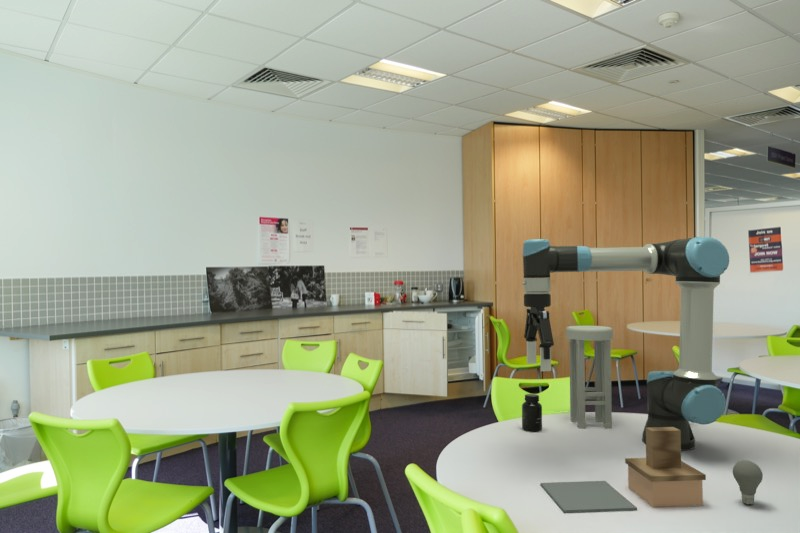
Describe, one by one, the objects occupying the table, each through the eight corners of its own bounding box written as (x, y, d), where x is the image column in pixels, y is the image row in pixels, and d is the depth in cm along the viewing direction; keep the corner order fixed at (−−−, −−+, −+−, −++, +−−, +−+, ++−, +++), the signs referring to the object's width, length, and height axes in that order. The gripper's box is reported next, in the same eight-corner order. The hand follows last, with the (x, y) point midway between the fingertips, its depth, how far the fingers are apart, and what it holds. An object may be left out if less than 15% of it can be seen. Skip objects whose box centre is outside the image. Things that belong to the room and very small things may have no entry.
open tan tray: (674, 486, 143) (673, 462, 143) (702, 505, 131) (702, 479, 131) (628, 487, 142) (628, 463, 142) (652, 507, 130) (652, 480, 130)
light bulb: (727, 499, 134) (726, 457, 134) (751, 498, 135) (750, 456, 135) (744, 509, 128) (744, 465, 128) (769, 508, 129) (768, 464, 129)
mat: (605, 483, 145) (605, 480, 145) (637, 510, 128) (637, 507, 128) (540, 485, 144) (540, 482, 144) (564, 512, 127) (564, 510, 127)
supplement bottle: (542, 432, 192) (542, 397, 192) (522, 431, 194) (521, 396, 194) (541, 427, 199) (541, 393, 199) (521, 426, 200) (521, 392, 201)
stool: (563, 418, 211) (562, 325, 211) (605, 418, 210) (603, 325, 211) (574, 430, 195) (573, 329, 196) (619, 430, 195) (618, 329, 195)
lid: (674, 461, 143) (674, 421, 144) (705, 479, 130) (704, 435, 131) (625, 463, 143) (624, 422, 143) (651, 481, 130) (650, 437, 130)
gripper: (513, 292, 174) (514, 360, 174) (537, 294, 149) (538, 374, 149) (537, 291, 174) (538, 360, 174) (564, 294, 149) (566, 374, 149)
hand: (538, 367), depth 161 cm, fingers open, 13 cm apart
